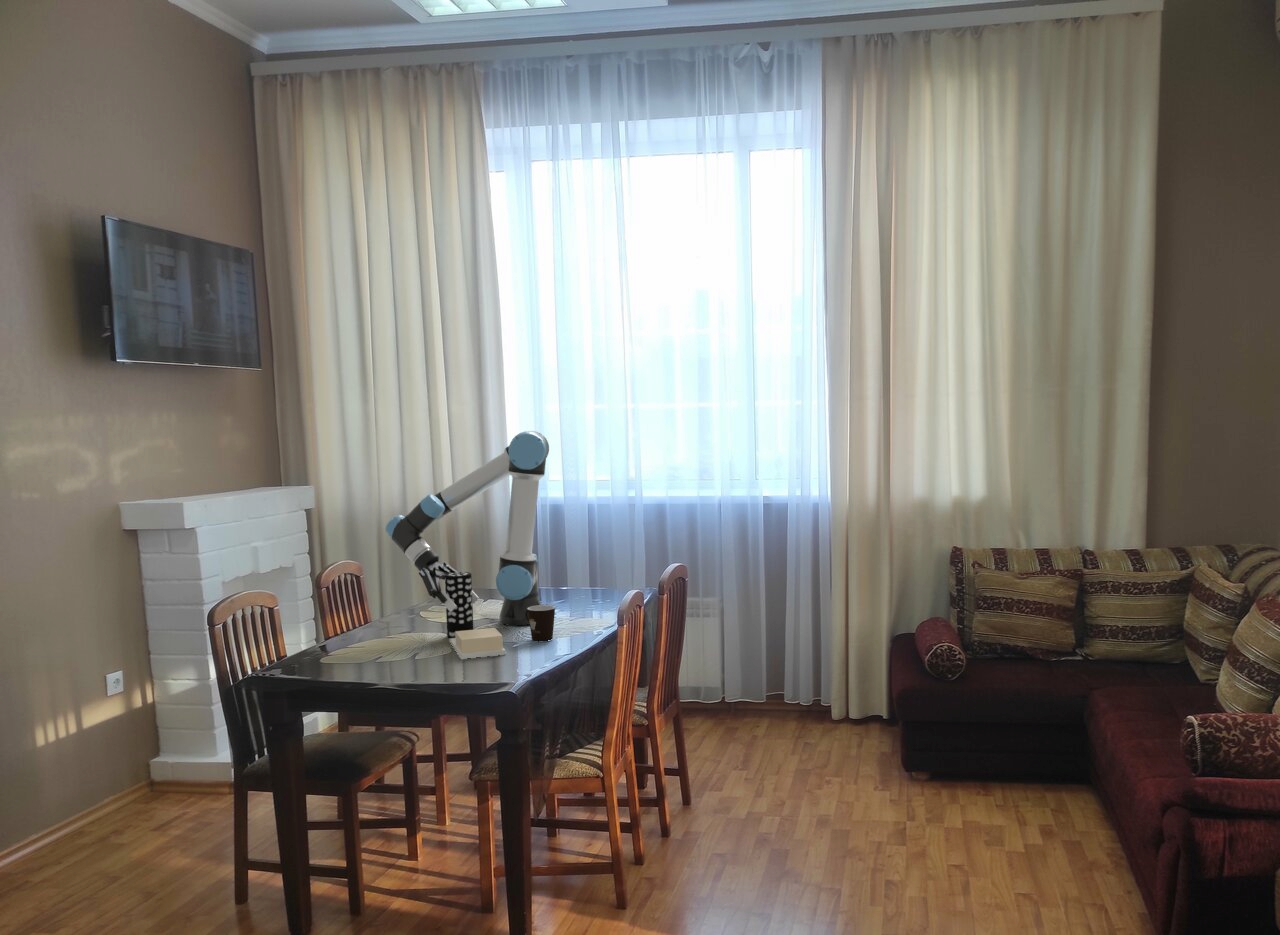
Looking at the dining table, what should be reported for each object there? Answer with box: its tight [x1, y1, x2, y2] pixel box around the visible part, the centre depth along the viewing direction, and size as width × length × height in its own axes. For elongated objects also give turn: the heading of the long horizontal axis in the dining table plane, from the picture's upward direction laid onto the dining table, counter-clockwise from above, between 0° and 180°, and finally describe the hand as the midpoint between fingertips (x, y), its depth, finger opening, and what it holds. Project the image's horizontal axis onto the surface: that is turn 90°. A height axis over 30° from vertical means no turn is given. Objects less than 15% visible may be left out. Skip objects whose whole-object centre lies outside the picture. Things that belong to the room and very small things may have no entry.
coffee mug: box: [526, 604, 556, 643], centre depth 315 cm, size 12×9×10 cm
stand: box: [449, 627, 506, 660], centre depth 304 cm, size 13×22×6 cm, turn 19°
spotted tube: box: [444, 571, 474, 639], centre depth 321 cm, size 8×8×20 cm
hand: (465, 604), depth 320 cm, fingers open, 13 cm apart
